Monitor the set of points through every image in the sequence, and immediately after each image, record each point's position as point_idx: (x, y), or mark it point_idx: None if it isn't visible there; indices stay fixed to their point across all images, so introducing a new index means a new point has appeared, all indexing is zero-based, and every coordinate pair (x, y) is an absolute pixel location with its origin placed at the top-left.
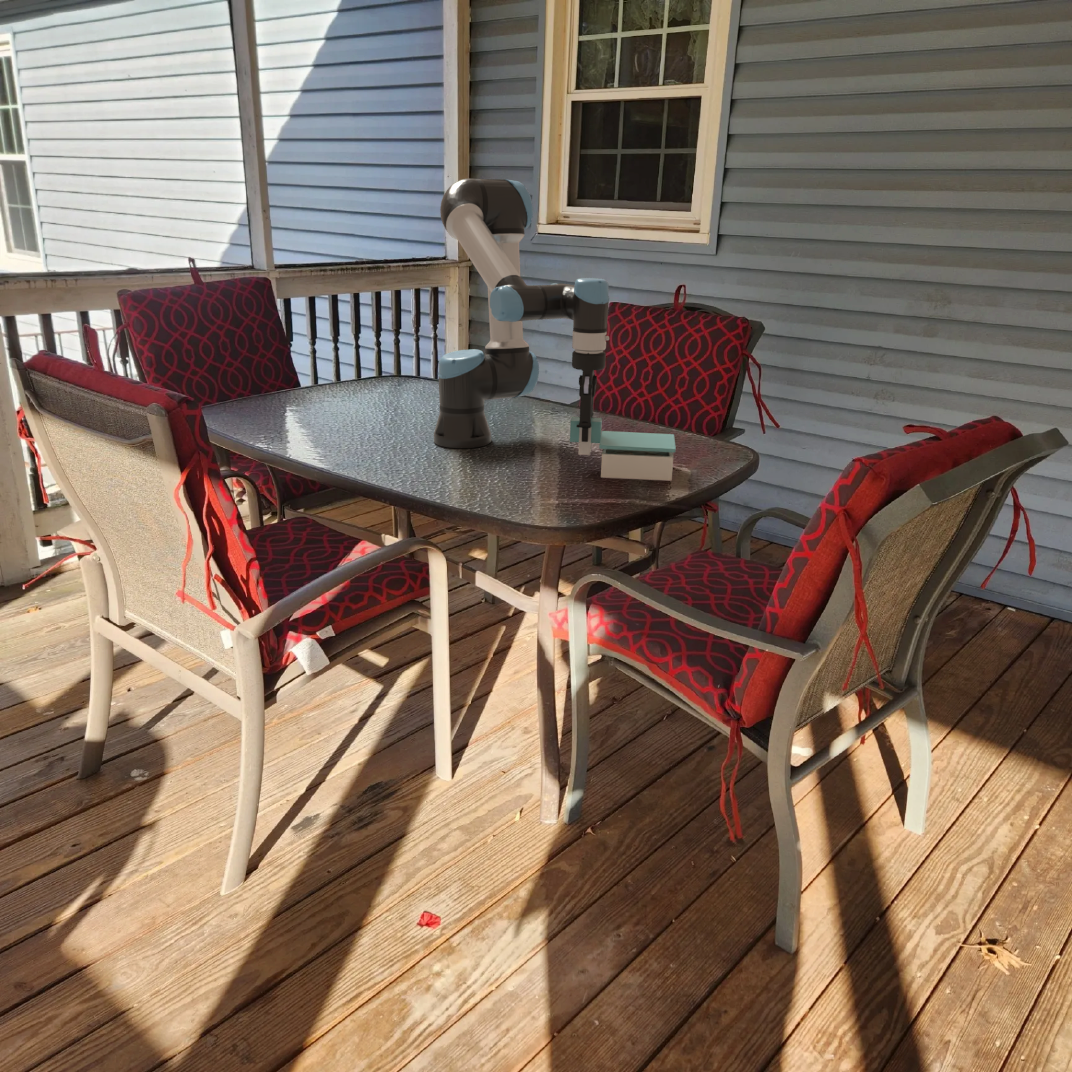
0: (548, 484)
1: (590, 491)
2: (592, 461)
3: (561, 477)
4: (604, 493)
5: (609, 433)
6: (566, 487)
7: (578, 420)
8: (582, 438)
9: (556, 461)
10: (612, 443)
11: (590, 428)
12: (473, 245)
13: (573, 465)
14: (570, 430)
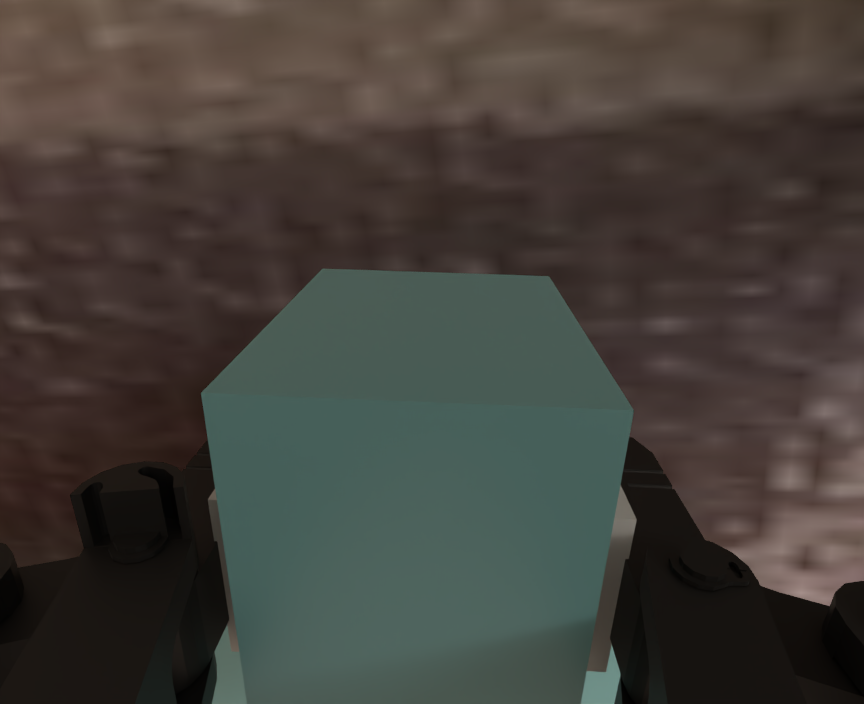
0: (65, 64)
1: (25, 370)
2: (720, 369)
3: (274, 159)
4: (22, 446)
5: (618, 681)
6: (46, 213)
7: (277, 547)
8: (205, 453)
9: (736, 78)
10: (232, 690)
11: (234, 630)
12: None
13: (611, 235)
14: (277, 320)
